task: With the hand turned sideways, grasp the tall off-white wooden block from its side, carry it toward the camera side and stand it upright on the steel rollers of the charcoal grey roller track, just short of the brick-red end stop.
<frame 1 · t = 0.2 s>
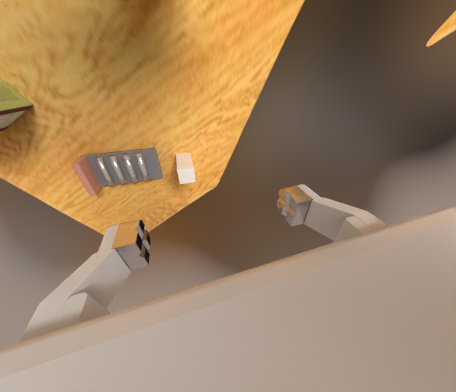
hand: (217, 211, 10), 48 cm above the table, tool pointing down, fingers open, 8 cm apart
wooden block: (184, 159, 56), on the table
roller track: (125, 166, 53), on the table
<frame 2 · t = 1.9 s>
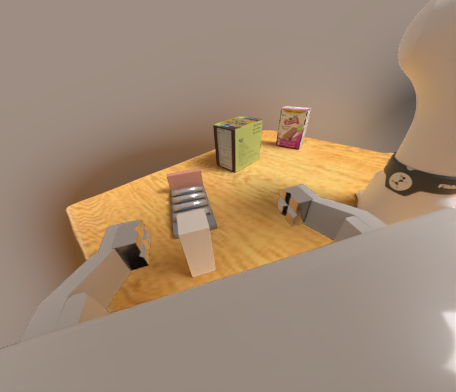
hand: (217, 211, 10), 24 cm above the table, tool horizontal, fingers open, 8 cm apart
wooden block: (202, 263, 33), on the table
candy bar box: (288, 146, 80), on the table
roller track: (191, 206, 47), on the table
protein box: (238, 162, 69), on the table
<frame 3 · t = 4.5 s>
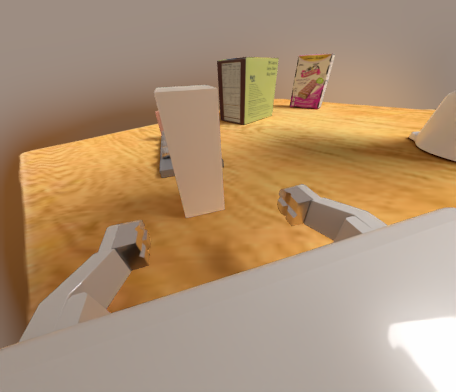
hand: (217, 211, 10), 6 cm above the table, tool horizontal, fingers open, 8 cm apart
wooden block: (202, 202, 21), on the table
candy bar box: (304, 107, 68), on the table
roller track: (187, 150, 35), on the table
protein box: (246, 118, 57), on the table
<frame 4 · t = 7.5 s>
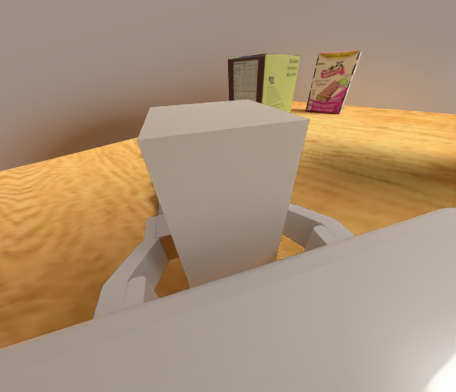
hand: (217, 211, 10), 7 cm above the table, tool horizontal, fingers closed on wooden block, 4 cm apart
wooden block: (226, 280, 13), on the table, touching gripper
candy bar box: (322, 112, 60), on the table
protein box: (259, 126, 49), on the table
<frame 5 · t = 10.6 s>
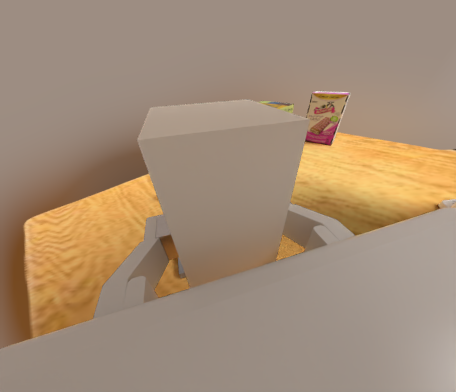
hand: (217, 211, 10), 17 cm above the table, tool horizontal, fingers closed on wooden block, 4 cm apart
wooden block: (226, 280, 13), point 10 cm above the table, touching gripper
candy bar box: (316, 141, 66), on the table
when the fingers open (11 cm above the table, at t = 13.9 s): wooden block drops 1 cm, resting on roller track.
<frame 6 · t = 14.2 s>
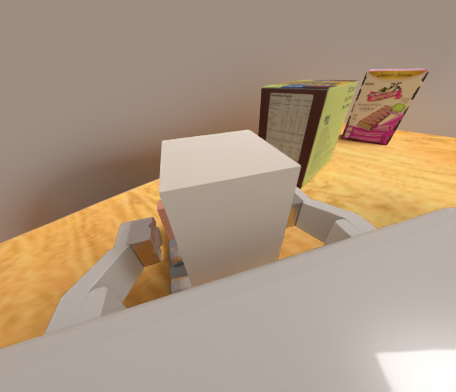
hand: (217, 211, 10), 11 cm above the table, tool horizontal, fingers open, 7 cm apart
wooden block: (228, 288, 14), point 3 cm above the table, touching roller track
candy bar box: (363, 140, 49), on the table
roller track: (228, 303, 16), on the table
protein box: (293, 166, 38), on the table
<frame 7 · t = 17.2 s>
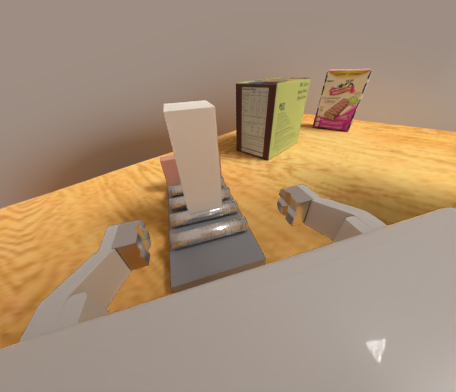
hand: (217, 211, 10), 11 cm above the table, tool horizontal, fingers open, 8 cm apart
wooden block: (203, 200, 24), point 3 cm above the table, touching roller track
candy bar box: (330, 128, 58), on the table
roller track: (204, 215, 26), on the table
protein box: (267, 147, 47), on the table
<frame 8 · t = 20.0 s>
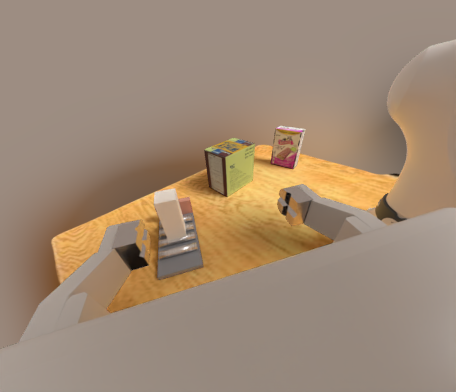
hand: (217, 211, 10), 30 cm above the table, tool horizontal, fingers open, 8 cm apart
wooden block: (177, 232, 44), point 3 cm above the table, touching roller track
candy bar box: (283, 165, 79), on the table
roller track: (179, 239, 46), on the table
protein box: (231, 184, 68), on the table
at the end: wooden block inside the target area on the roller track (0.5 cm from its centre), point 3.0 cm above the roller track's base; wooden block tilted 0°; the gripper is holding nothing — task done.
